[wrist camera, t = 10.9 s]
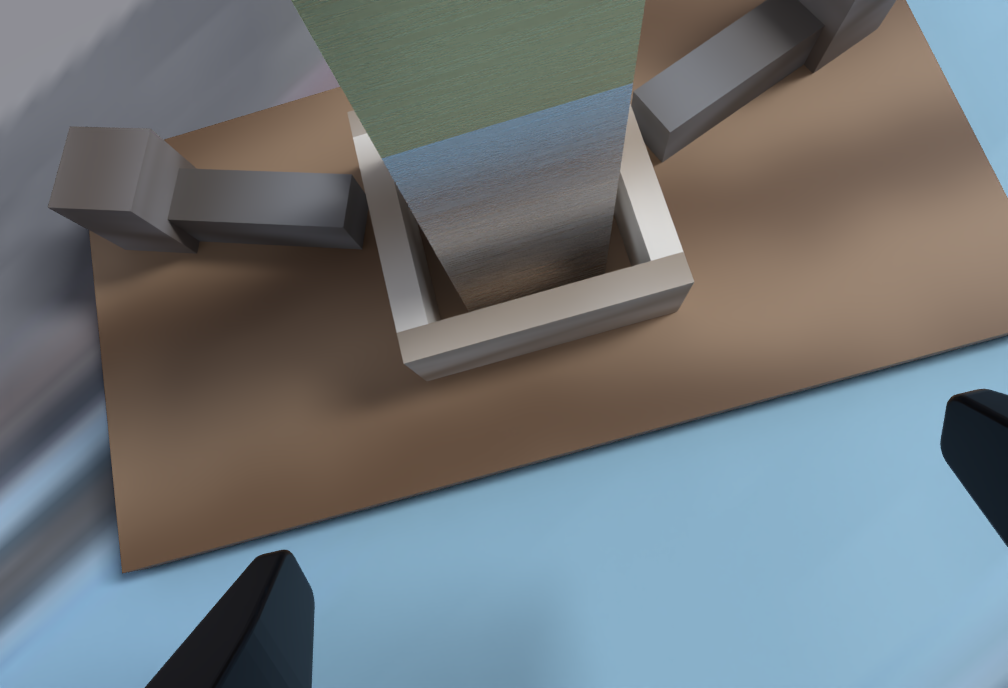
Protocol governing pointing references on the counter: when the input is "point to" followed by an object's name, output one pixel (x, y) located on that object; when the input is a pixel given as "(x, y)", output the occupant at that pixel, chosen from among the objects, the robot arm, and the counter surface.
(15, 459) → the counter surface
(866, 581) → the counter surface
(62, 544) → the counter surface
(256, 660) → the robot arm
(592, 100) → the block
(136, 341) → the shaft board
